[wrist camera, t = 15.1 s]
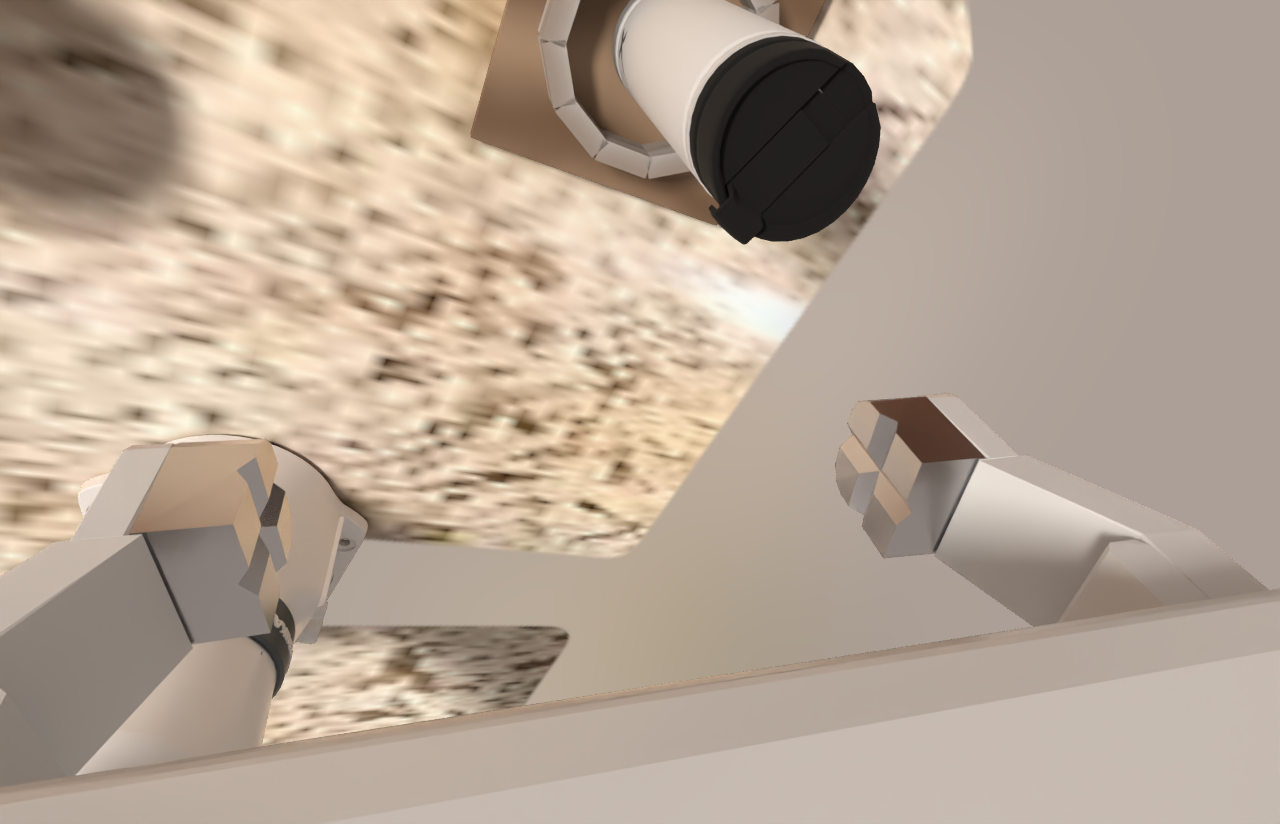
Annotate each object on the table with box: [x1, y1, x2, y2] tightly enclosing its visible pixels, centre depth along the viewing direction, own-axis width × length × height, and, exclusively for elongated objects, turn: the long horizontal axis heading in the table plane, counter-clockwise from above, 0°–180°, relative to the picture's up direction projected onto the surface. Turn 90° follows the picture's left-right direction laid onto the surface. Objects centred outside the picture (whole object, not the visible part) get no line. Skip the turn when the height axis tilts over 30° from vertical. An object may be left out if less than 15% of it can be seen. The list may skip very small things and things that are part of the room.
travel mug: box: [612, 0, 881, 244], centre depth 31 cm, size 6×7×20 cm
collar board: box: [471, 0, 825, 225], centre depth 38 cm, size 16×16×4 cm
